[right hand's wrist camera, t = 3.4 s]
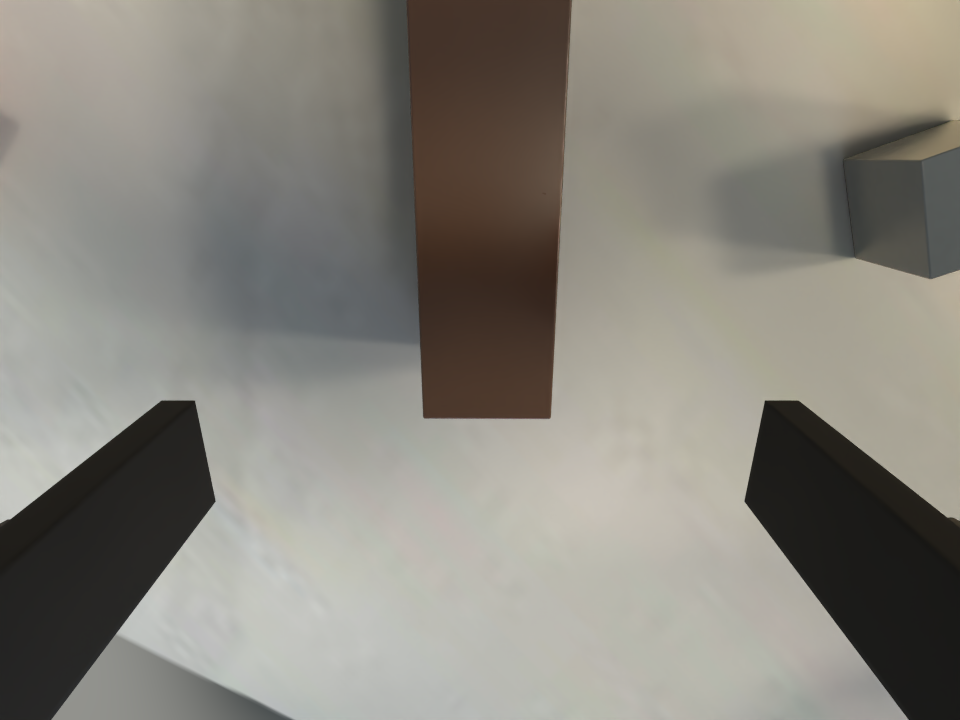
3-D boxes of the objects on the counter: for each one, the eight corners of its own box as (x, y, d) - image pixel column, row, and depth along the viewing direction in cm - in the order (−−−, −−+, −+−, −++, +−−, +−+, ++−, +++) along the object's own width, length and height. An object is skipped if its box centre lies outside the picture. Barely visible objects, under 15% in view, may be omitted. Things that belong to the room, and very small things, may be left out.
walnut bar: (421, -316, 20) (380, -621, 12) (556, -317, 20) (604, -623, 12) (439, 347, 29) (423, 419, 21) (533, 347, 29) (550, 419, 21)
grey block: (953, 119, 25) (1059, 112, 21) (959, 224, 27) (1058, 238, 22) (842, 159, 26) (920, 160, 21) (854, 258, 28) (930, 280, 23)
